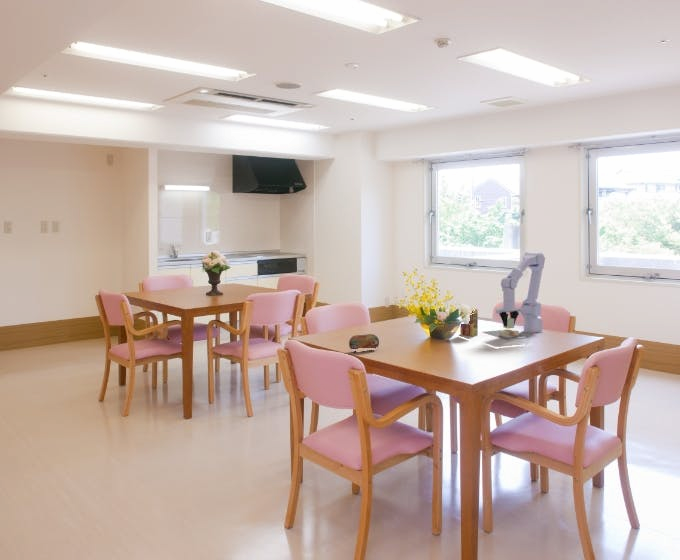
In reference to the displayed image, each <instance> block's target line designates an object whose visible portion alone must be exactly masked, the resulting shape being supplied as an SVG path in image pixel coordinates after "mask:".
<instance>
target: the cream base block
mask: <svg viewBox="0 0 680 560" xmlns="http://www.w3.org/2000/svg"><path fill="white" fill-rule="evenodd" d="M499 330H500V336H503V337H506V338H509V337H519V335H520V333H519V330H517V329H514V328H509V329H507V328H503V329H499Z"/></svg>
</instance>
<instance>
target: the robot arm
mask: <svg viewBox="0 0 680 560" xmlns="http://www.w3.org/2000/svg"><path fill="white" fill-rule="evenodd" d="M545 261H546V257H545V255H544V254H543V252H525V253H524V254H523V255H522V260H521V262H520V263H519V265H518V266H517V267H516V268H512V270H511V271H510V272H509V274H508V275H507V276H506V277H503V278H502V279H501V283H500V286H501V289H502V290H501V291H502V292H503V294H502V299H503V303H502V304H503V307H502V308H497V309H495V314H498V315H499V316H500V318H501V320H502V324H503V325H504V326H507V318H514V326H515V324H516V321H517V318H518V317H519V314H521V315H522V317H523V332H524V333H525V332H526V333H540V334H544V332H543V318H542V317H541V313H542V308H541V307H542V304H541V302H539V300H538V297H539V291H540V285H541V280H542V274H543V269H544V267H545ZM527 268H528V269H530V270H531V274H530V280H529V286H528V292H527V297H526V299H524V300H523V301H522V303H521V306H520V307H515V306H516V305H515V304H516V303H515V301H516V300H515V299H516V298H515V295H516V294H515V293H516V292H515V291H516V290H515V289H516V288H517V286H518V283H519V281H520V279H521V278H522V277H523V276H524V275H523V273H524V272H525V270H526V269H527ZM509 316H510V317H509ZM503 325H502V326H503Z"/></svg>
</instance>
